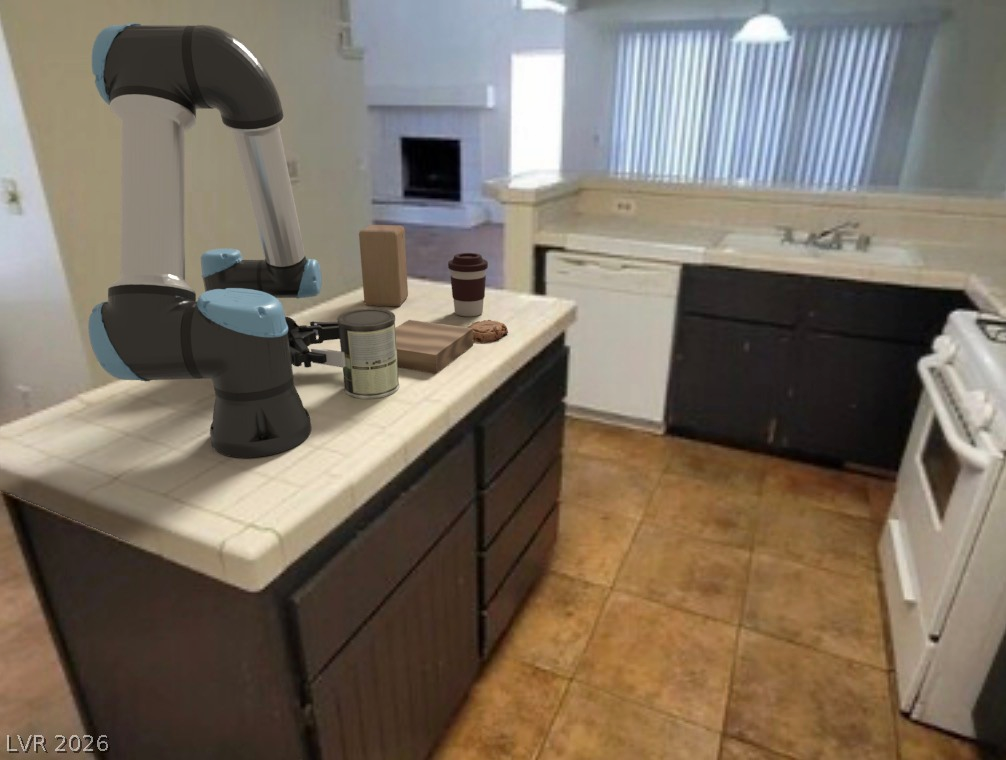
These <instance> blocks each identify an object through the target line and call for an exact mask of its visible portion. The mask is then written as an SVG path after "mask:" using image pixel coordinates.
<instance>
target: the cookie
mask: <svg viewBox="0 0 1006 760" xmlns="http://www.w3.org/2000/svg"><path fill="white" fill-rule="evenodd" d="M467 328H473V341H475V342H476V343H477V342H481V343H485V342H486V343H487V342H488V343H489V342H490V343H491V342H495V341H496V340H499V339H501V338H502V337H503V336H504V335H507V334H509V330H508V327H507V325H506V324H505V323H503V322H500V321H498V320H491V319H483V320H480V321H478V320H477V321H475V322H472V324H470V325H469V326H467Z"/></svg>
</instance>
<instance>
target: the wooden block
mask: <svg viewBox="0 0 1006 760" xmlns="http://www.w3.org/2000/svg"><path fill="white" fill-rule="evenodd" d="M358 239H359V240H358V242H359V250H360V251H359V252H360V253H359V254H360V264H361V275H362V288H363V301H364V304H365V305H366V306H371V307H373V306H375V307H376V306H377V307H400V306H401V305H402V304H403V303H404V302H405V301H406V299H408V296H409V290H408V289H409V288H408V272H407V271H408V270H407V268H408V267H407V250H406V248H407V247H406V230H405V227H404V226H403V225H399V224H398V225H397V224H395V225H394V224H389V225H388V224H370V225H368V226H366V227H364V228H363V229H361V230H359V232H358Z"/></svg>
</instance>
